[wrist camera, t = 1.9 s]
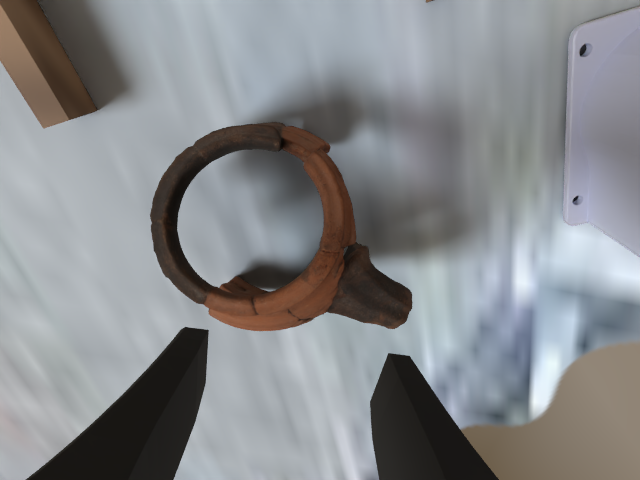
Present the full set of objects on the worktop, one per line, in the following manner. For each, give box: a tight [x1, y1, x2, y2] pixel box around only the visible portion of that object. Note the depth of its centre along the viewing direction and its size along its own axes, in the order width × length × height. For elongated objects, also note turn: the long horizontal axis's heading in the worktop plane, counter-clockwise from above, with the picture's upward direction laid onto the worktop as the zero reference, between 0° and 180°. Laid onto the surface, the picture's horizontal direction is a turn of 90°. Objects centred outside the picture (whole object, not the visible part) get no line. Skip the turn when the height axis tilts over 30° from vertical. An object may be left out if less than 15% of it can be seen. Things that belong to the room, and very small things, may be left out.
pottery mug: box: [150, 122, 412, 331], centre depth 17 cm, size 12×10×8 cm
